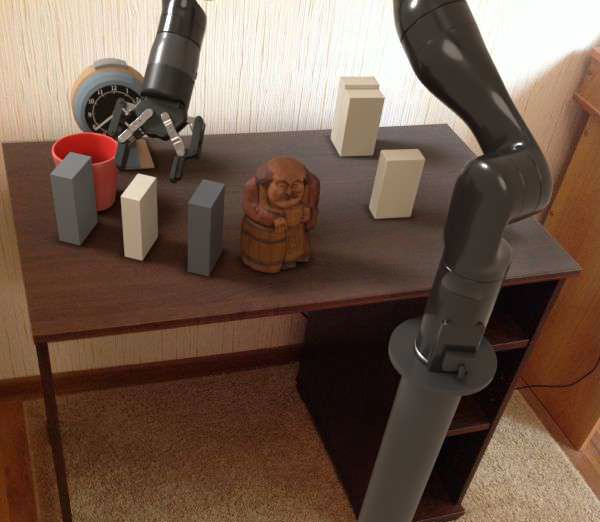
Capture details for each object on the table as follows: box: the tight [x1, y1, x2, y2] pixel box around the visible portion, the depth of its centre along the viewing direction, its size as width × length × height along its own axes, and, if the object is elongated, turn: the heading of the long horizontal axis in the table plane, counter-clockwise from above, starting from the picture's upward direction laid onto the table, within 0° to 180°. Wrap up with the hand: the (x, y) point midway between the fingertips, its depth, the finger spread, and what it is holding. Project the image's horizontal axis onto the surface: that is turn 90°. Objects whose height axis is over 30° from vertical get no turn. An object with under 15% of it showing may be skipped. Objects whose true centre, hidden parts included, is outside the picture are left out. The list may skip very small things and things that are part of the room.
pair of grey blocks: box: [49, 152, 226, 277], centre depth 117 cm, size 7×25×13 cm, turn 77°
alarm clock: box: [69, 57, 155, 171], centre depth 133 cm, size 14×10×18 cm
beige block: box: [120, 173, 159, 262], centre depth 118 cm, size 7×3×11 cm, turn 167°
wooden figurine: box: [239, 155, 321, 274], centre depth 117 cm, size 12×6×18 cm, turn 119°
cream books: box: [330, 76, 426, 220], centre depth 141 cm, size 29×7×13 cm, turn 15°
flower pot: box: [51, 132, 120, 212], centre depth 126 cm, size 11×11×10 cm
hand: (146, 175), depth 116 cm, fingers open, 8 cm apart
